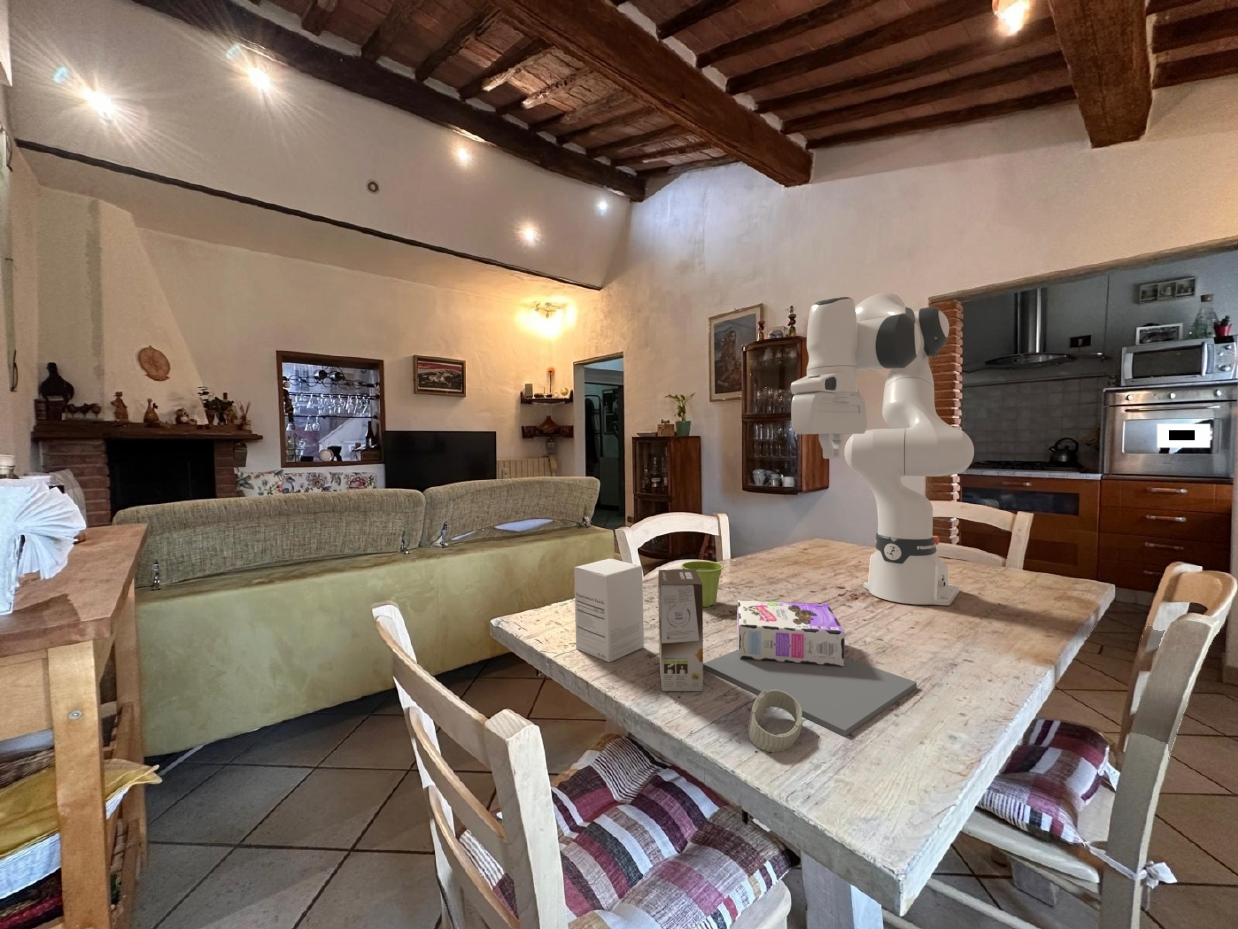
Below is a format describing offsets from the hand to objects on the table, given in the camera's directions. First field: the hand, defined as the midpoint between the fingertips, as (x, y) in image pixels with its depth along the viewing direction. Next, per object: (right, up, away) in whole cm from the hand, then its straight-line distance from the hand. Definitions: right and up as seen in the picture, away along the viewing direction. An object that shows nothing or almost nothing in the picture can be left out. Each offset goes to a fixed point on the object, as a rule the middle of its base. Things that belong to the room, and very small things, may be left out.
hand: (831, 458), depth 95 cm
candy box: (-3, -30, -10) cm, 32 cm away
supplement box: (-42, -34, -5) cm, 54 cm away
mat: (-12, -34, -17) cm, 40 cm away
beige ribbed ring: (-21, -35, -32) cm, 52 cm away
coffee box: (-31, -35, -17) cm, 49 cm away
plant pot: (-21, -33, +19) cm, 44 cm away
